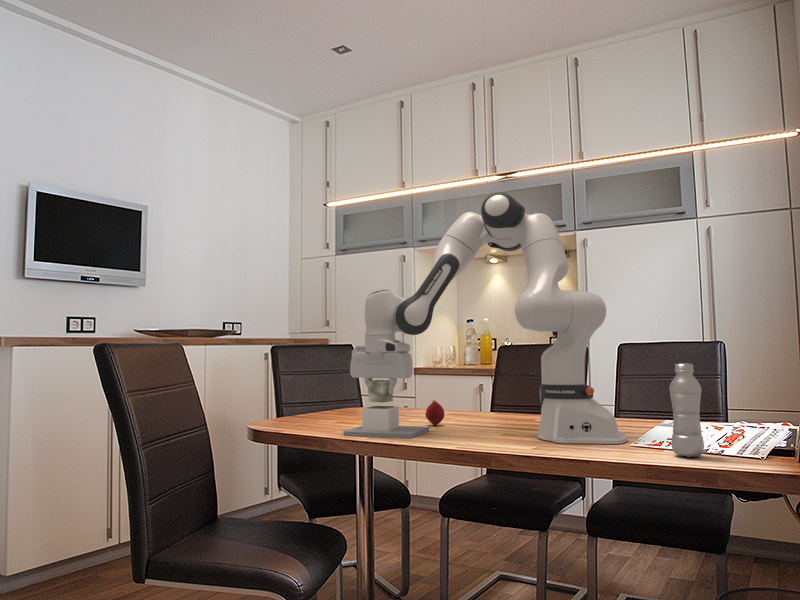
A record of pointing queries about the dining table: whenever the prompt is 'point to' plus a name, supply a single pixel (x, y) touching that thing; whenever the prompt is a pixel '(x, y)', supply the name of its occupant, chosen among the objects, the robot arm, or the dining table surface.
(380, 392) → the sage block
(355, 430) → the build base
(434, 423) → the onion
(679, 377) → the plastic bottle
